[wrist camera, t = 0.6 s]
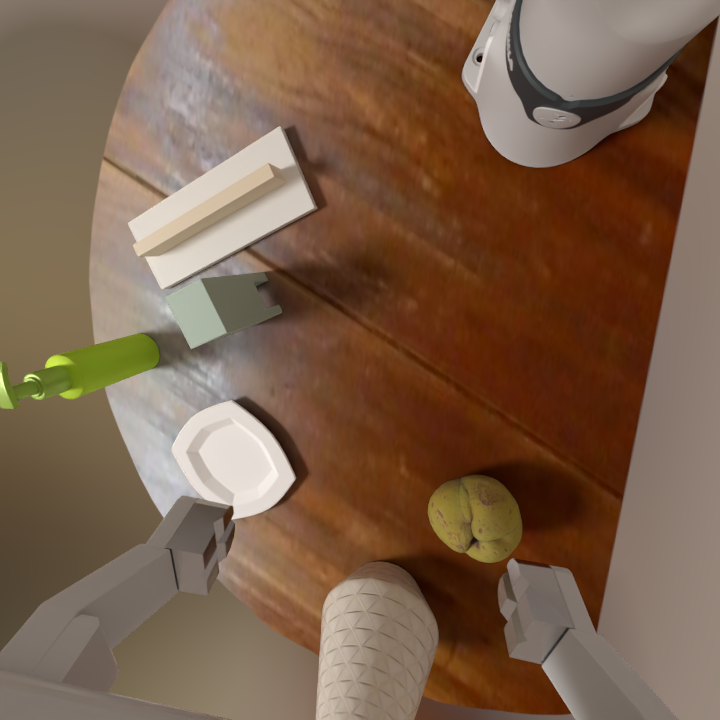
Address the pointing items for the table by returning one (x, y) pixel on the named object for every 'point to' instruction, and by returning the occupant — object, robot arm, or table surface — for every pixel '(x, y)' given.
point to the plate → (233, 459)
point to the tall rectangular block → (219, 307)
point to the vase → (375, 646)
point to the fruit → (476, 517)
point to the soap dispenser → (82, 370)
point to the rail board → (237, 222)
